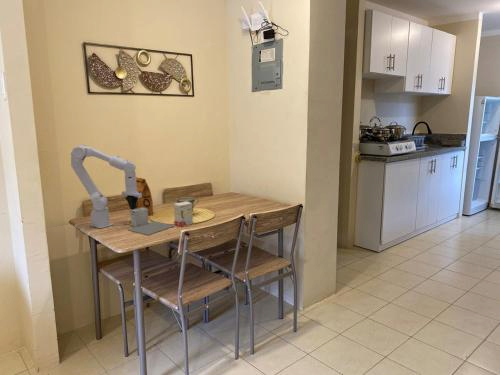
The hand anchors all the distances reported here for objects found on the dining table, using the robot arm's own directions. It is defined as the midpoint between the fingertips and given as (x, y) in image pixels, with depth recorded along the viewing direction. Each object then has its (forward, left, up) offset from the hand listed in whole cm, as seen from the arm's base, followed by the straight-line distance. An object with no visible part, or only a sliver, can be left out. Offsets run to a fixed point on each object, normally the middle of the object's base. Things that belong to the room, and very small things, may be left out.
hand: (132, 209), depth 201 cm
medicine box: (+5, 0, -8) cm, 10 cm away
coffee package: (-12, +16, -8) cm, 22 cm away
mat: (+16, -1, -8) cm, 18 cm away
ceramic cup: (+13, +29, -8) cm, 33 cm away
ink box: (+25, +13, -8) cm, 29 cm away
